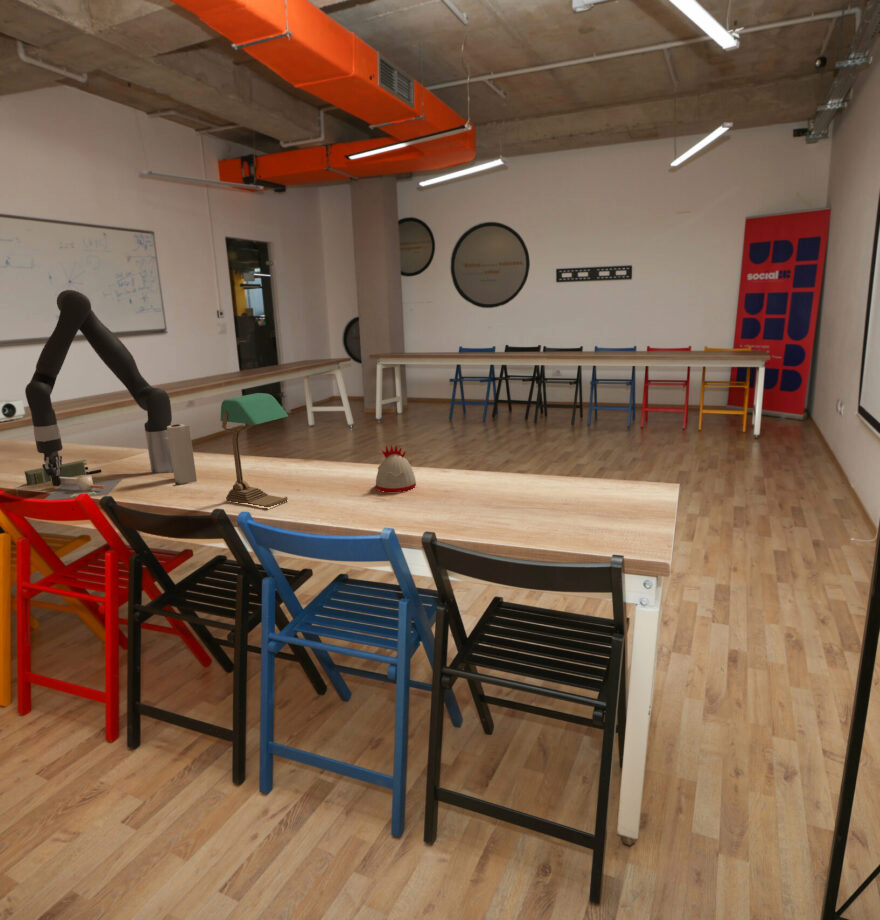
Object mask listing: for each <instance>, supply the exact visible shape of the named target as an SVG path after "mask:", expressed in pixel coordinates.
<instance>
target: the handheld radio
mask: <svg viewBox="0 0 880 920" xmlns="http://www.w3.org/2000/svg"><path fill="white" fill-rule="evenodd" d="M86 461H87V460H86V459H82V460H77V461H72V462H71V461H70V462H66V463H62V466H61V471H60V474H59V476H60V477H72V478H76V477H81V476H90V475H95V474H99V473H102V469H101V468H100V469H94V470H90V471H88V470H89V467H88V466H87V465H88V463H87V462H86ZM23 471H24V474H25V475H24V476H25V480H26V484H27V486H36V485H41V484H45V483H48V482H49V483H50V482H51V476H48V475H47V473H46V472H45V470H44V468H43V467H40V468H35V469H28V470H23Z"/></svg>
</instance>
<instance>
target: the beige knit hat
mask: <svg viewBox="0 0 880 920" xmlns="http://www.w3.org/2000/svg"><path fill="white" fill-rule="evenodd" d="M393 447H394V446H393V445H392V444H391V446H390V450H389V449H388V446H387V445H385V450H383V449H381V452H382V454H383V456H384V457H385V458H384V459H383V460H382V461H381V463H380V464H379V466H378V467H377V475H376V478H375V479H376V480H375V489H376V488H377V489H378V490H380V491H379V492H381V491H384V492H383V493H386V492H400V493H404V492H403V491H406V492H409V491H408V490H410V491H412V490H414V489H415V488H416V487H417V485H416V484H417V481H416V476H415V473H414V471H413V468H412V465H411V464H410V462H409V461H408V459H406V458H405V455H406V452H407V451H406V450H404V452H403V453H402V447H399V449H398V446H397V444H395V447H394V448H393ZM415 486H416V487H415ZM413 488H414V489H413ZM377 489H376V490H377ZM411 489H412V490H411ZM378 490H377V491H378Z"/></svg>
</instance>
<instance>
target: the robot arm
mask: <svg viewBox="0 0 880 920" xmlns="http://www.w3.org/2000/svg"><path fill="white" fill-rule="evenodd" d="M56 305H57V308H58V310H59V311H60V312H59V317H58V320H57V323H56V325H55V327H54V330H53V331H52V333H51V335H50V336H49V338H48V339H47V341H46V342H45V344H44V346H43V348H42V350H41V352H40V354H39V356H38V359H37V362H36V365H35V370H34V373H33V375H32V378H31V379H30V381H29V383H28V384H27V385H26V386H25V390H24V391H25V392H24V393H25V398H26V402H27V405H28V408H29V410H30V414H31V421H32V426H33V435H34V441H35V445H36V449H37V450H36V451H37V452H38V453H39V454H43V464H42V465H41V467H42V468H44V470H45V472H46V473H47V475H48V476H51V479H52V482H51V485H52V486H53V487H60V486H62V483H61V481H60V476H59V474H60V471H61V466H62V464H63V456H62V455H59V452H60V451H62V450H63V443H62V438H61V432H60V428H59V425H58V421H57V415H56V412H55V409H54V408H53V404H52V398H51V394H52V393H53V389H54V387H55V384H56V381H57V379H58V378H57V377H58V375H59V374H60V371H61V370H62V367H63V365H64V363H65V360H66V357H67V356H68V353H69V350H70V348H71V345H72V343H73V341H74V340H75V338H76V336H77V333H78V331H80V332H81V334H82V335H83V336H84V338H85V339H86V340H87V342H88V344H89V345H90V346H91V347H92V349H93V351H94V352H95V353H96V354H97V356H98V357H99V359H100V360H101V361H102V362H103V363H104V364H105V365H106V367H107V368H108V369H109V370H110V371H111V372H112V373H113V374H114V376H115V377H116V378H117V379H118V380H119V381H120V382H121V383H122V384H123V385H124V387H125V388H126V389H127V390H128V392H129V394H130V395H131V396H132V398H133V399H134V402H136V404H137V405H138V406H139V408H140V409H142V410H143V411H145V412H147V414H146V415H147V420H146V422H145V423H144V425H143V426H144V432H145V433H144V434H145V438H146V445H147V451H148V457H149V463H150V464H149V466H150V471H151V474H174V472H173V465H172V458H171V451H170V445H169V438H168V431H167V426H170V425H172V421H173V420H172V418H173V415H172V405H171V399H170V395H169V394H168V393H167V391H166V390H164V389H162V388H158V387H157V388H156V387H153V386H152V385H151V384H150V383H149V382H148V381H147V380H146V379H145V378H144V377H143V375H142V374H141V372H140V371H139V368H138V365H137V363H136V360H135V358H134V356H133V354H132V353H131V352H130V351H129V349H128V348H127V347H126V345H125V344H124V342H122V340H120V339H119V338H118V336H116V335H115V333H113V331H111V330H110V329H109V328H108V327H107V326H106V325H105V324H104V323H103V322H102V321H101V320H100V319H99V318H98V316H97V314H96V313H95V311H93V309H92V304H91V300H90V299H89V298H88V297H87V296H86V295H85V294H83V293H81V292H80V291H77V290H75V289H74V290H73V289H66V290H62V291H61V292H60V293H59V294H58V296H57V297H56Z"/></svg>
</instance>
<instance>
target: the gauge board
mask: <svg viewBox="0 0 880 920" xmlns="http://www.w3.org/2000/svg"><path fill="white" fill-rule="evenodd" d="M121 481H123V478H118V479H117V478H116V479H107V480H97V481H96V480H95V481H93V485H101V486H105V488H104V489H100V488H93V489H91V490H86V491H80V490H79V485H77V484H63V483H62V484H61V485H59V486H58V488H56V490H54V491H52V493H50V494H49V495H48V496H47V497H45V498H44V499H43V500H48V501H58V500H67V499H68V500H69V499H76V498H75V497H76V496H77V495H79V494H81V493H88V494H89V495H90V496H91V497H100V496H101V497H103V496H108V495H109V494H110V493H111V492H112V491H113V490H114V489H115V488H116V487H117V486H118V484H119V483H120V482H121Z"/></svg>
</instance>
